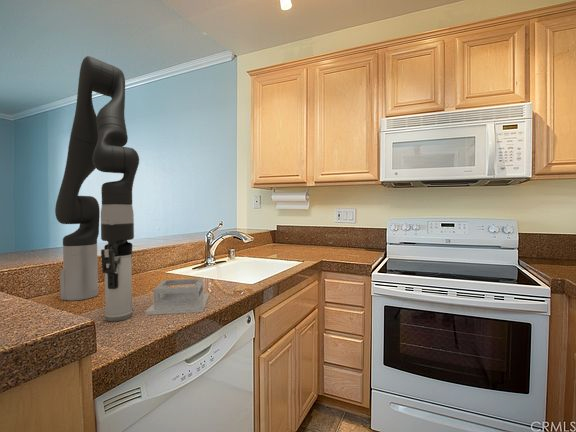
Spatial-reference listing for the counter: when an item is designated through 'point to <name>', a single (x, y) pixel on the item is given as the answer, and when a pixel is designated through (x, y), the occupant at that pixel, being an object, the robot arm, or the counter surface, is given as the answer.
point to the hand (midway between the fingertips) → (118, 284)
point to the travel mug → (120, 288)
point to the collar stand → (178, 297)
